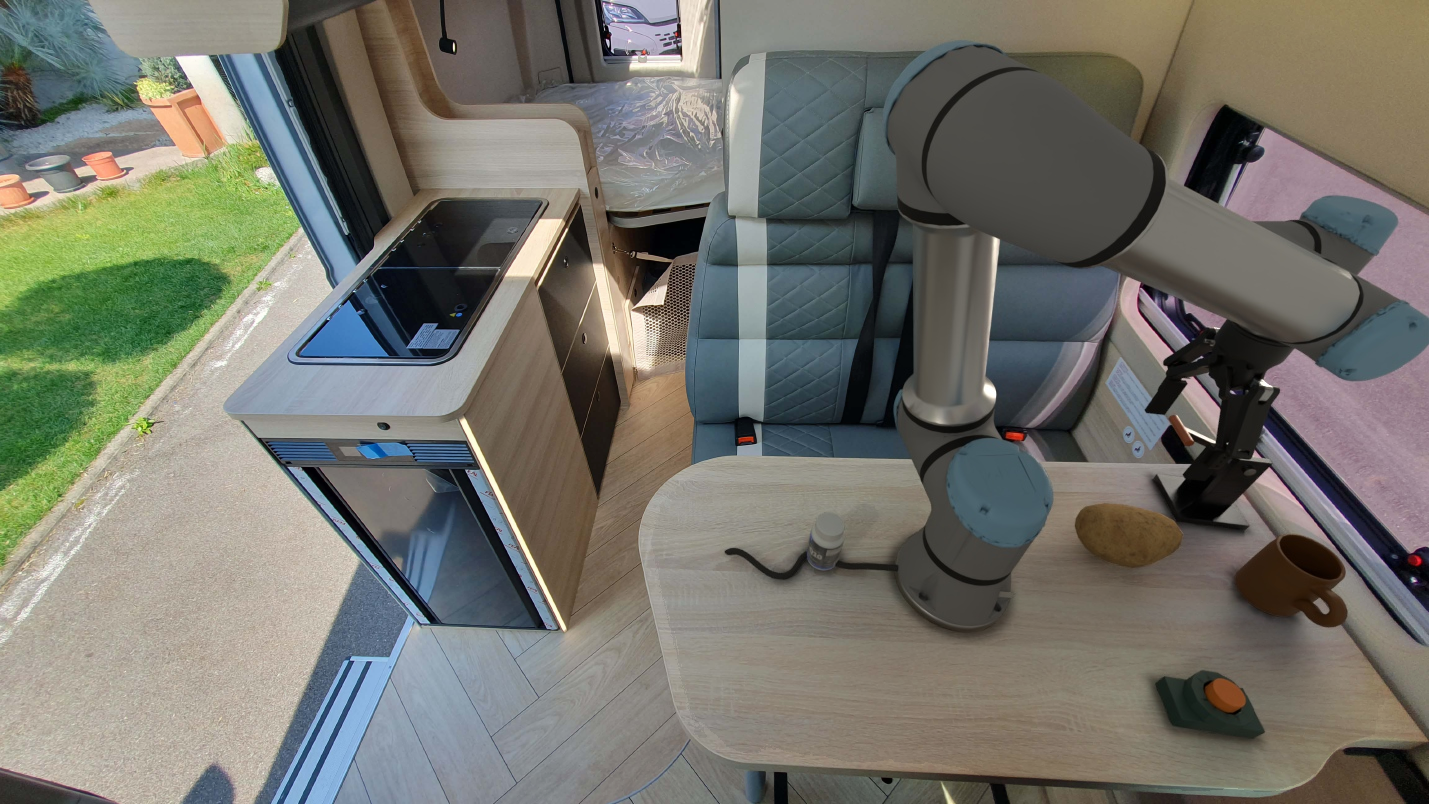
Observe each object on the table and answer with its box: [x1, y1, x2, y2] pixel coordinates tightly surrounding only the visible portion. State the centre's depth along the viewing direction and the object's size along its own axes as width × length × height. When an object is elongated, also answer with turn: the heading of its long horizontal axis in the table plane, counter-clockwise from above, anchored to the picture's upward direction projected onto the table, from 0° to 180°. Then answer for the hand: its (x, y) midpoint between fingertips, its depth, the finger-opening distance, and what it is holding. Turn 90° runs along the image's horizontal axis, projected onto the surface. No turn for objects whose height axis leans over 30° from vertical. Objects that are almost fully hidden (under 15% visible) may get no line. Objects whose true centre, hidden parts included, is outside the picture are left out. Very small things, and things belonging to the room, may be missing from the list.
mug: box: [1234, 533, 1349, 629], centre depth 77 cm, size 12×8×9 cm, turn 172°
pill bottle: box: [806, 511, 846, 571], centre depth 82 cm, size 5×5×8 cm
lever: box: [1168, 414, 1256, 464], centre depth 85 cm, size 13×6×2 cm, turn 81°
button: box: [1205, 679, 1246, 713], centre depth 67 cm, size 3×3×2 cm
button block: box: [1154, 669, 1266, 740], centre depth 69 cm, size 9×6×4 cm
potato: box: [1074, 502, 1184, 569], centre depth 84 cm, size 10×14×8 cm
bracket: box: [1153, 440, 1273, 531], centre depth 89 cm, size 10×9×13 cm
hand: (1172, 443), depth 86 cm, fingers open, 13 cm apart
